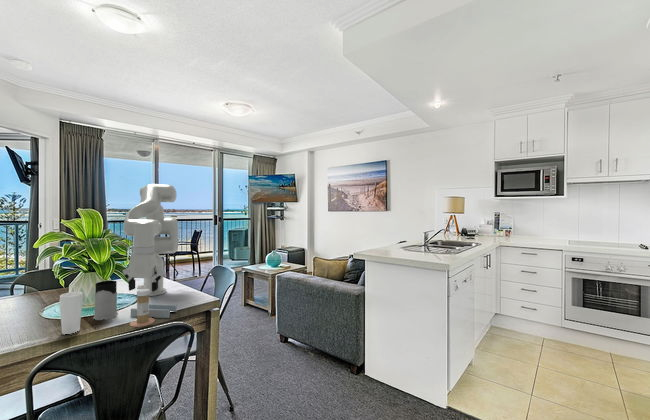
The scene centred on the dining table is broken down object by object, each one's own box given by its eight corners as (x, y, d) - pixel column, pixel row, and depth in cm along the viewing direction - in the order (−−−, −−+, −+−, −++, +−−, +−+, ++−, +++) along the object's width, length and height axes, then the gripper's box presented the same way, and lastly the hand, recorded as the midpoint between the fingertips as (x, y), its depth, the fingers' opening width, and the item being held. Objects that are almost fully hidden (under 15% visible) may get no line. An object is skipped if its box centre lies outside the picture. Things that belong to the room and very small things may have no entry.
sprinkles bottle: (147, 318, 127) (148, 288, 126) (150, 321, 123) (150, 290, 123) (135, 321, 124) (135, 289, 123) (137, 324, 120) (138, 292, 120)
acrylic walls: (130, 316, 129) (130, 308, 129) (140, 311, 136) (140, 303, 136) (168, 318, 129) (168, 310, 129) (176, 312, 136) (176, 304, 136)
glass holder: (89, 321, 123) (90, 286, 123) (102, 309, 137) (103, 277, 136) (113, 318, 126) (114, 284, 126) (124, 307, 140) (124, 276, 139)
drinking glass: (54, 335, 110) (54, 296, 109) (72, 327, 116) (73, 290, 116) (68, 337, 109) (69, 297, 108) (86, 329, 115) (87, 292, 115)
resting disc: (124, 326, 119) (124, 325, 119) (139, 318, 128) (139, 317, 128) (146, 327, 119) (146, 326, 119) (159, 318, 128) (159, 317, 128)
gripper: (117, 251, 119) (116, 292, 120) (158, 252, 119) (158, 293, 120) (129, 248, 127) (129, 286, 127) (169, 249, 126) (168, 288, 127)
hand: (143, 290), depth 123 cm, fingers open, 9 cm apart
